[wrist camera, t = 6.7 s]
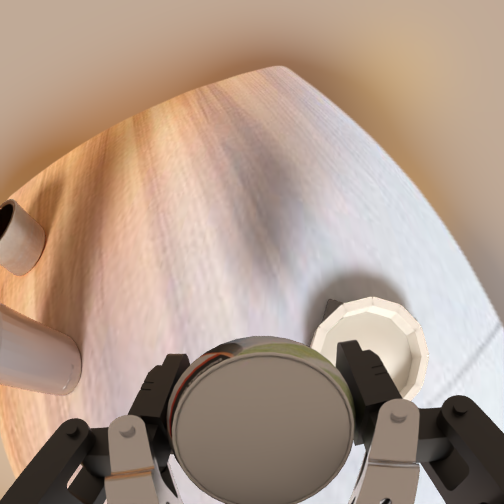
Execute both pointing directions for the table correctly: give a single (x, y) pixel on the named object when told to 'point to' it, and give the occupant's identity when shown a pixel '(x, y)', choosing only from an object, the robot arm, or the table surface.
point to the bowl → (379, 339)
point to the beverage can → (261, 421)
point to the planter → (19, 239)
